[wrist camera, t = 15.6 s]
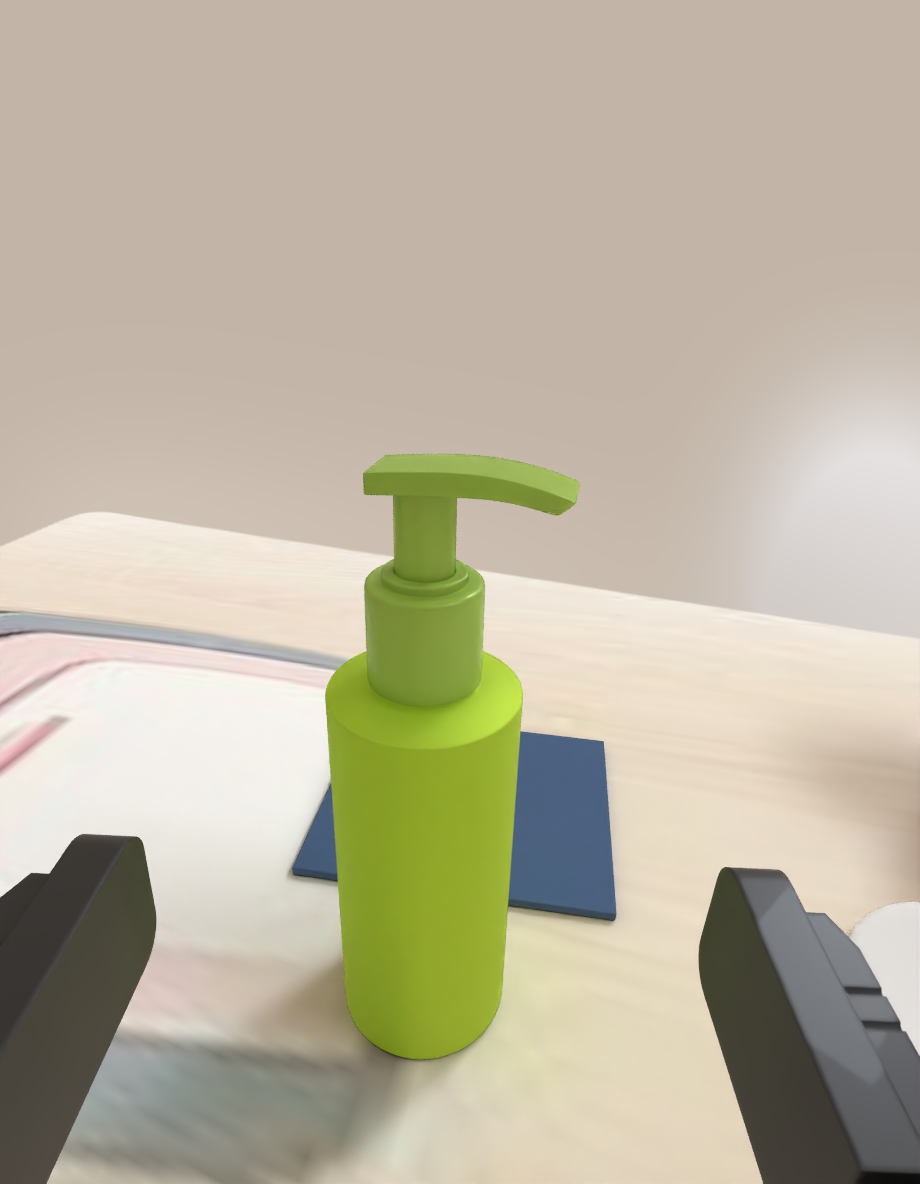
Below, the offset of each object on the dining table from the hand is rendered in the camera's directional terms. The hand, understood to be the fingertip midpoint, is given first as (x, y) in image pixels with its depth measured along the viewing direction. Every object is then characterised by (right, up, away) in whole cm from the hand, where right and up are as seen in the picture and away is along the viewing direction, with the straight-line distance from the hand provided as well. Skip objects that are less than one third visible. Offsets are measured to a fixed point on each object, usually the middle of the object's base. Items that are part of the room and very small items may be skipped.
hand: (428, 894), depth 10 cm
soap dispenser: (0, -11, +17) cm, 20 cm away
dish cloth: (+1, -6, +26) cm, 27 cm away
